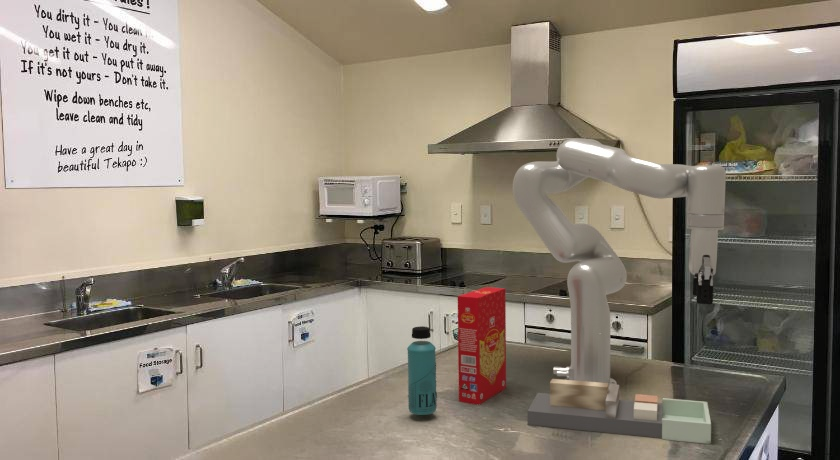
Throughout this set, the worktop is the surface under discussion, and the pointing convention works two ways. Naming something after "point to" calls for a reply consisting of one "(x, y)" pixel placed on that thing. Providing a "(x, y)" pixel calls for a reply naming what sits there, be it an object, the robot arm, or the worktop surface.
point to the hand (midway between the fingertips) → (702, 299)
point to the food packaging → (481, 344)
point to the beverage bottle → (421, 373)
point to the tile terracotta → (646, 399)
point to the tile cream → (645, 411)
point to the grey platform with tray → (629, 419)
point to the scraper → (585, 395)
